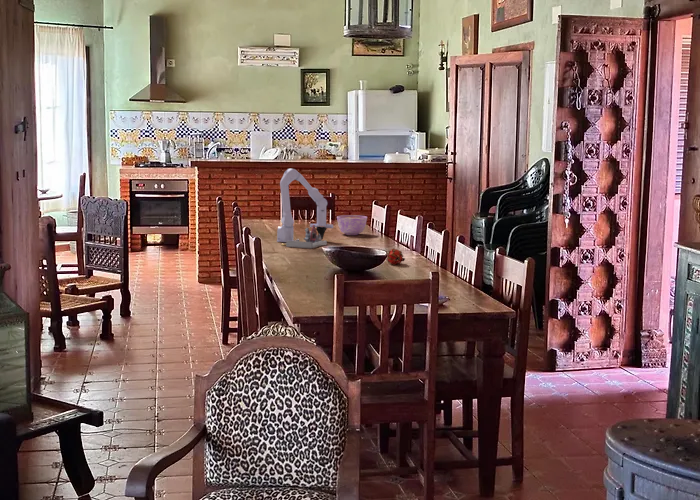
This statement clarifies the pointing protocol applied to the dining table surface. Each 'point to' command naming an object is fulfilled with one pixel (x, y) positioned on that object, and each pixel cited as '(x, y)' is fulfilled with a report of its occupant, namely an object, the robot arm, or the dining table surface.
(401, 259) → the dragon fruit
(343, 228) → the purple rounded bowl
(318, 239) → the brake caliper
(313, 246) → the receiver
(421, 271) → the dining table surface
